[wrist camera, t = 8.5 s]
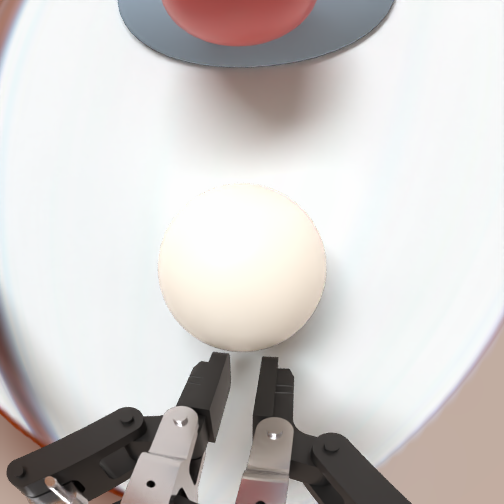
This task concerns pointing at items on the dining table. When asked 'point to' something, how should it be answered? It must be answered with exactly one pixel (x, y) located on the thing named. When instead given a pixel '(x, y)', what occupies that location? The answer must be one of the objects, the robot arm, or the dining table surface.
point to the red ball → (238, 19)
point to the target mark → (267, 54)
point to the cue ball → (242, 267)
